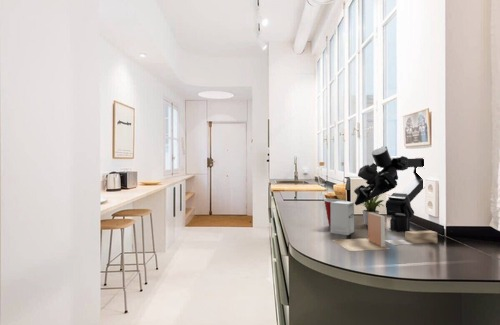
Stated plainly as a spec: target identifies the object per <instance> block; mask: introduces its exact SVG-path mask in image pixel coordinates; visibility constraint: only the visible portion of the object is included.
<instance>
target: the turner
mask: <svg viewBox="0 0 500 325" xmlns="http://www.w3.org/2000/svg"><path fill="white" fill-rule="evenodd" d="M404 239H405V240H404ZM404 239H388V240H387V239H385V243H389V244H390V245H393V246H404V245H405V246H406V245H407V246H408V245H409V246H410V245H413V244H421V243H422V244H423V243H434V244H436V245H437V244H438V232H437V231H433V230H411V231H407V232H404Z"/></svg>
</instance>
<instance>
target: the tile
mask: <svg viewBox="0 0 500 325" xmlns="http://www.w3.org/2000/svg"><path fill="white" fill-rule="evenodd" d="M385 222H386V220H385V215H382V214H376V213H372V212H368V225H367V233H368V234H367V238H368V240H369V241H371V242H373V243H375V244H377V245H379V246H381V247H385V246H386V241H385V240H386V236H385V235H386V224H385Z"/></svg>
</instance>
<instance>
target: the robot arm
mask: <svg viewBox="0 0 500 325" xmlns="http://www.w3.org/2000/svg"><path fill="white" fill-rule="evenodd" d="M388 150H389V149H388V147H387V146H386V145H385V146H381V147H379V148H378V147H377V148H376V149H374V150H372V151H371V155H372V158H373V160H374V162H372V163H371V164H370V165H369V164H366V165H365V164H364V166H362V167H360V168H359V170H358V173H357V177H359V178H361V179H363V180H364V181H366V182H365V184H367V185H364V184H362V185H358V187H356V188H355V189H354V190H353V193H355V194H356V195H357V196H356V198H355V200H354V206H360V205H363V204H362V203H365V202H367V201H369V202H370V199H371V198H375V197H376V196H378V195H379V196H382V195H384V194H385V193H387V192H389V191H392V190H393V189H395V188H396V187H397V186H398V182H397V180H399V176H398V171H405V170H408V168H414V169H413V175H414V176H415V178H414V180H413V181H412V182H411V183H410V184H408V186H406V187H405V188H404V189H403V191H402V192H400V193H399V192H393V193H392V194H391V195H390V196H388V197H387V198H388V199H387V200H386V202H385V209H386V212H387V216H390V217H391V218H390V220H389V228H388V230H391V231H393V232H397V233H405V232H407V231H412V230H411V228H410V227H411V223H410V222H411V219H413V218H414V215H415V211H414V210H413V207H412V205H411V202H412V201H413V200H414V199H415V198H416V197H417V196H418V194H420V193H421V191H422V190H423V189H424V188H423V179H422V178H421V177H420V176H419V175H418V174H417V173H416V168H417V167H418V168H424V167H423V166H424V159H423V158H424V157H415V158H408V157H407V156H403V155H402V156H401V155H398V156H396V155H395V156H394V155H393V156H390V152H389V151H388ZM378 168H380V169H379V170H378Z"/></svg>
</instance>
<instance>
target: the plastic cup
mask: <svg viewBox="0 0 500 325" xmlns="http://www.w3.org/2000/svg"><path fill="white" fill-rule="evenodd" d="M323 201H324V204H325V211H326V215H327V216H326V217H327V221H328V222H327V223H328V226H330V228H331V203H332V202H336V201H344V202H349V201H348V200H345V199H338V198H323Z"/></svg>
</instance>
